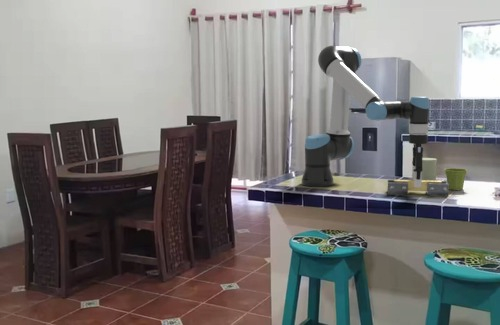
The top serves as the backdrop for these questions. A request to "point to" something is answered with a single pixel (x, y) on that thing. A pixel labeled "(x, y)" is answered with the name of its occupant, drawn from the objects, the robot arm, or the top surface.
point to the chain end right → (438, 189)
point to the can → (429, 168)
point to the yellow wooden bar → (411, 187)
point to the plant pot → (455, 178)
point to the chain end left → (397, 188)
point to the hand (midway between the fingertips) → (416, 184)
